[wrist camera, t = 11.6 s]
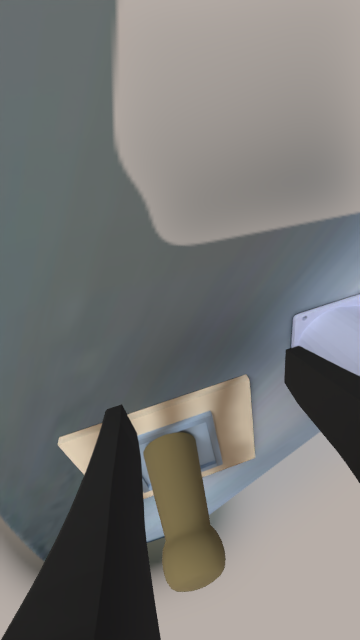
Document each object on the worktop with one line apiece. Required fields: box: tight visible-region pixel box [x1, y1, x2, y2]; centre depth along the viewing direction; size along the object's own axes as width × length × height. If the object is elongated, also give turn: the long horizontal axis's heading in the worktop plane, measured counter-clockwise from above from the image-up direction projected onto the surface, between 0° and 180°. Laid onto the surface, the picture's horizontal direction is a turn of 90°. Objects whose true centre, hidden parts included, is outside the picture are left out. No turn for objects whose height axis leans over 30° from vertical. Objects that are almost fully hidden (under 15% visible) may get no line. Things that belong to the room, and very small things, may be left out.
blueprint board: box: [58, 375, 255, 499], centre depth 29 cm, size 20×16×1 cm
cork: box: [143, 432, 225, 592], centre depth 23 cm, size 6×6×11 cm
